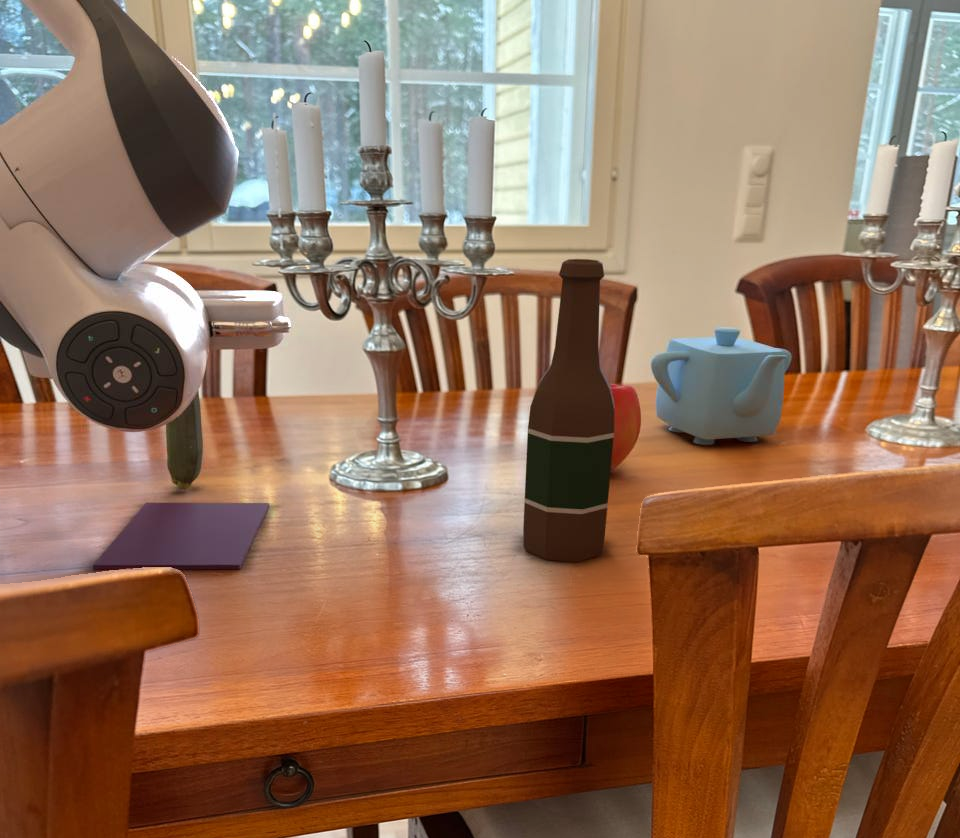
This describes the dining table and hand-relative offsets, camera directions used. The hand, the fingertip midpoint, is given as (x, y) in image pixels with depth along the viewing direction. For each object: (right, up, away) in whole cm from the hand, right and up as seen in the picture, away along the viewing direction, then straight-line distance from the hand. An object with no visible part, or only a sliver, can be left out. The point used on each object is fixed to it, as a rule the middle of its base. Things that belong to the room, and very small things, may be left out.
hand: (162, 305), depth 77 cm
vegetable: (-3, -14, +16) cm, 21 cm away
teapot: (+59, -3, +40) cm, 71 cm away
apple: (+41, -10, +26) cm, 49 cm away
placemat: (+1, -19, +5) cm, 20 cm away
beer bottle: (+35, -21, +4) cm, 41 cm away
